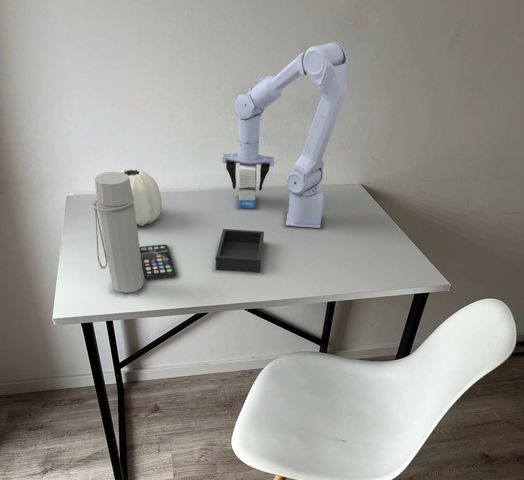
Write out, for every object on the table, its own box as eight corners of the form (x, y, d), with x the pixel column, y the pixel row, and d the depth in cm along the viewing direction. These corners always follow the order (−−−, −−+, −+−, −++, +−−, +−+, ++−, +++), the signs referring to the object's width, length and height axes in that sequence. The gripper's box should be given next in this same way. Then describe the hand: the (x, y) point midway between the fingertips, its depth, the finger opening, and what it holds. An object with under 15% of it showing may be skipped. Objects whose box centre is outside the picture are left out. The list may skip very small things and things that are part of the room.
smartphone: (167, 244, 131) (176, 274, 120) (167, 246, 132) (176, 276, 121) (137, 247, 129) (144, 277, 118) (137, 249, 130) (144, 280, 119)
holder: (263, 243, 135) (264, 231, 133) (259, 272, 124) (260, 260, 122) (223, 241, 135) (223, 228, 133) (216, 269, 124) (215, 257, 122)
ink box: (255, 209, 151) (256, 169, 143) (238, 208, 151) (238, 168, 143) (255, 197, 157) (257, 158, 150) (239, 196, 157) (240, 157, 150)
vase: (102, 217, 142) (94, 169, 134) (146, 205, 150) (141, 158, 141) (128, 236, 135) (121, 186, 126) (173, 222, 142) (169, 174, 134)
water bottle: (145, 276, 120) (132, 170, 104) (143, 295, 115) (129, 185, 98) (105, 277, 119) (85, 170, 103) (101, 296, 113) (80, 186, 97)
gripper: (275, 137, 146) (272, 184, 154) (224, 134, 146) (224, 181, 154) (274, 146, 140) (271, 194, 149) (221, 142, 140) (221, 190, 149)
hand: (247, 188), depth 151 cm, fingers open, 7 cm apart
